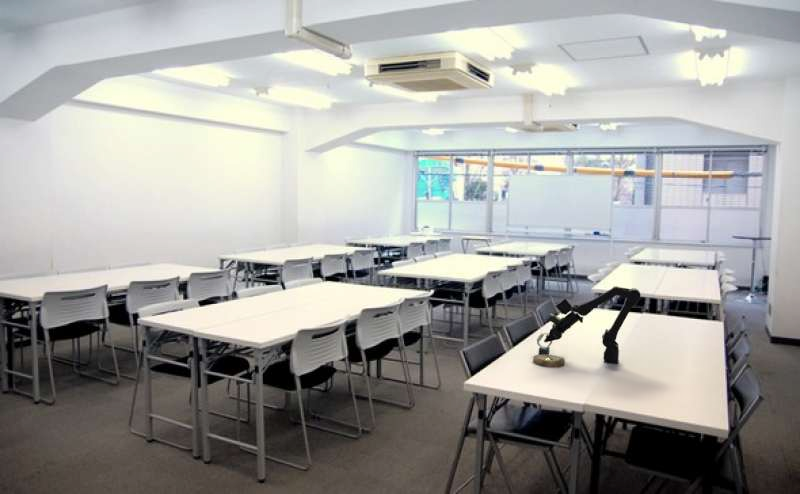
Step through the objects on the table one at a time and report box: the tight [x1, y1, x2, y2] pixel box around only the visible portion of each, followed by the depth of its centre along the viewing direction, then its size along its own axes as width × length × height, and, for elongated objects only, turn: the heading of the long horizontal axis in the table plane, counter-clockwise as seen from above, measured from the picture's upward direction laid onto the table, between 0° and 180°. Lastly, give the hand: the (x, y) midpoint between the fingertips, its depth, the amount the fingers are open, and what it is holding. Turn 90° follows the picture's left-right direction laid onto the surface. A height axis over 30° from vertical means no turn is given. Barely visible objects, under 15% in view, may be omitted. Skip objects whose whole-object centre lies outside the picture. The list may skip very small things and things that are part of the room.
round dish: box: [532, 354, 566, 368], centre depth 282 cm, size 15×15×2 cm
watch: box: [536, 332, 553, 355], centre depth 297 cm, size 6×8×11 cm
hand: (545, 339), depth 297 cm, fingers open, 9 cm apart
